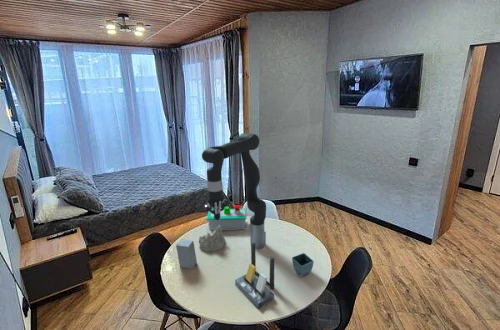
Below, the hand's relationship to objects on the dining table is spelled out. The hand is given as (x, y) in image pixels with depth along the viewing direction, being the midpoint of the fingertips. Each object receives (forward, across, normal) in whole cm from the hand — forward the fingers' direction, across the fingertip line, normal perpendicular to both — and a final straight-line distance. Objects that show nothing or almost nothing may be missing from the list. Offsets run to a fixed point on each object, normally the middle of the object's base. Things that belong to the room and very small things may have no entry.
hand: (217, 219), depth 137 cm
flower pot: (+36, -38, +24) cm, 58 cm away
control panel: (+36, -31, -45) cm, 66 cm away
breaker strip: (+36, -8, +20) cm, 42 cm away
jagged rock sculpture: (+36, -11, -31) cm, 49 cm away
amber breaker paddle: (+32, -8, +15) cm, 36 cm away
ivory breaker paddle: (+32, -8, +24) cm, 41 cm away
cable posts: (+36, -17, +15) cm, 43 cm away
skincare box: (+36, +11, -20) cm, 43 cm away
